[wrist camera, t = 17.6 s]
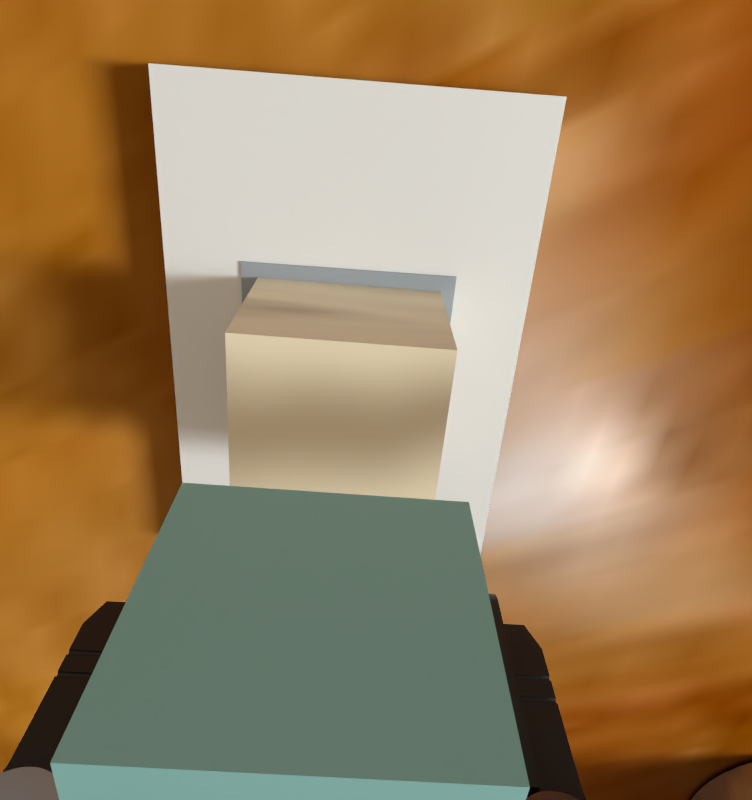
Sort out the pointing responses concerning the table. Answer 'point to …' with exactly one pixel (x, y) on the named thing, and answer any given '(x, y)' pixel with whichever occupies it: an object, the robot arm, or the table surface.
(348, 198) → the board
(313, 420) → the birch block
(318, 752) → the teal cube
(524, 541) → the table surface
